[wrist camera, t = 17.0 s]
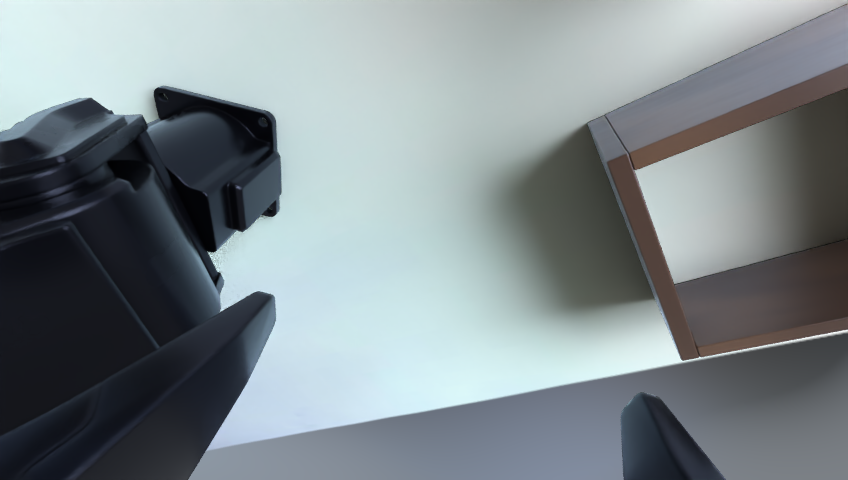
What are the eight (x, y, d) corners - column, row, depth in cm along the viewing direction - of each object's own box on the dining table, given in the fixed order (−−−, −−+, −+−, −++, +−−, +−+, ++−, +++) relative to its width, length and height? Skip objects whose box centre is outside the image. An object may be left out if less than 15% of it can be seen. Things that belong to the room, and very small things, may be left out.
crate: (655, 299, 24) (682, 361, 20) (586, 122, 18) (605, 162, 15) (936, 228, 18) (1040, 293, 15) (949, -44, 13) (1113, -45, 10)
